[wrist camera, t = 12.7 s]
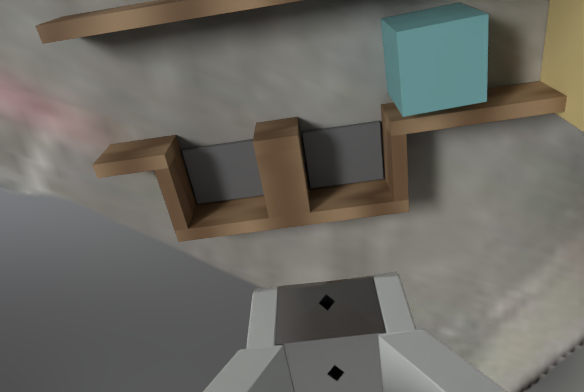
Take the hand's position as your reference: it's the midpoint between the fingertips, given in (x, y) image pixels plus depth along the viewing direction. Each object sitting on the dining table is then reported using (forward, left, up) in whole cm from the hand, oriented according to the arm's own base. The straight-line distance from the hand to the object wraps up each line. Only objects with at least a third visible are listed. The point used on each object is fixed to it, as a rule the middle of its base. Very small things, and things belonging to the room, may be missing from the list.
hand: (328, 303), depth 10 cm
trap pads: (+3, +8, -24) cm, 25 cm away
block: (-8, +1, -24) cm, 25 cm away
